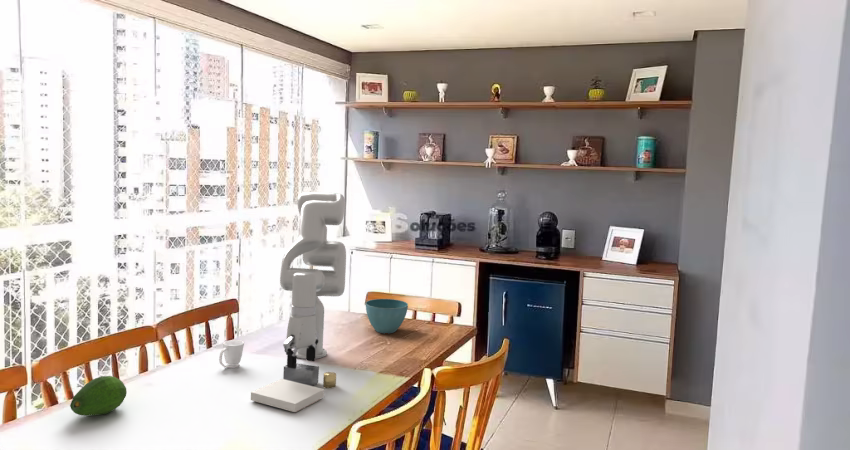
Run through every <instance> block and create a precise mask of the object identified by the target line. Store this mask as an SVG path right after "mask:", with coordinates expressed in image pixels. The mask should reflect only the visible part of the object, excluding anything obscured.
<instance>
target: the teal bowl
mask: <svg viewBox="0 0 850 450" xmlns="http://www.w3.org/2000/svg"><path fill="white" fill-rule="evenodd" d="M408 309H409V303H407V302H406V301H404V300H399V299H394V298H375V299H370V300H369V299H368V300H367V301H366V302H365V310H366V316H367V319H368V320H369V321H368V322H370V324H371V327H372V328H373V329H374V331H376V332H377V333H379V334H385V333H388V334H393V333H396V332H397V330H398V329H400V327H401V326H402V324H403V322H404V320H405V318H406V315H407V313H408Z"/></svg>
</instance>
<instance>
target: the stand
mask: <svg viewBox="0 0 850 450" xmlns="http://www.w3.org/2000/svg"><path fill="white" fill-rule="evenodd" d="M323 398H325V388H320V387H317V386H314V387H313V386H309V385H305V384H301V383H297V382H293V381H289V380H285V379H283V378H280V379H278V380H275V381H274V382H271V383H269V384H267V385H265V386H264V385H263V386H261V387H259V388H258V389H255V390H253V391H250V401H252V402H255V403H259V404H263V405H267V406H271V407H274V408H279V409H282V410H286V411H288V412H292V413H298V412H299V411H301V410H303V409H306V408H307V407H310V406H311V405H313V404H314V403H317V402H319V401H320V400H321V399H323Z"/></svg>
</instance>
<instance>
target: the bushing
mask: <svg viewBox="0 0 850 450" xmlns="http://www.w3.org/2000/svg"><path fill="white" fill-rule="evenodd" d="M322 382H323V383H322V384H323V385H322V388H324V387H325V388H324V389H334V388H336V387H337V372H333V371H326V372H324V373H323V381H322Z"/></svg>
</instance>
